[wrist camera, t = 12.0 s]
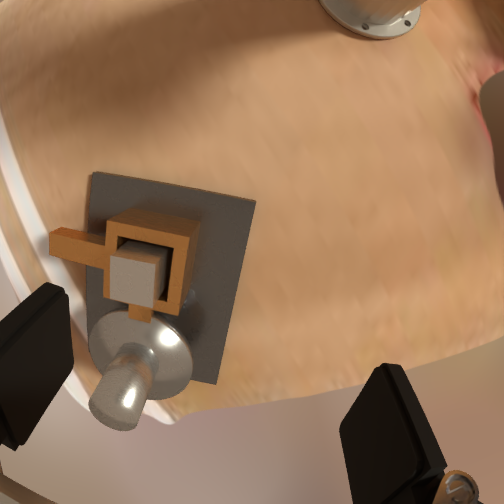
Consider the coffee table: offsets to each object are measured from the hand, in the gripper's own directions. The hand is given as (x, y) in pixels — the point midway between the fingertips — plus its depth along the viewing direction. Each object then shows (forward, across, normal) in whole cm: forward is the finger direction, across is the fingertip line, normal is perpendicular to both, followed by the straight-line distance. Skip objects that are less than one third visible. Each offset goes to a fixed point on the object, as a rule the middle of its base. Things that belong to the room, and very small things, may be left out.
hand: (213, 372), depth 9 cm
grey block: (+25, +8, +8) cm, 27 cm away
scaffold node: (+25, +9, +13) cm, 30 cm away
